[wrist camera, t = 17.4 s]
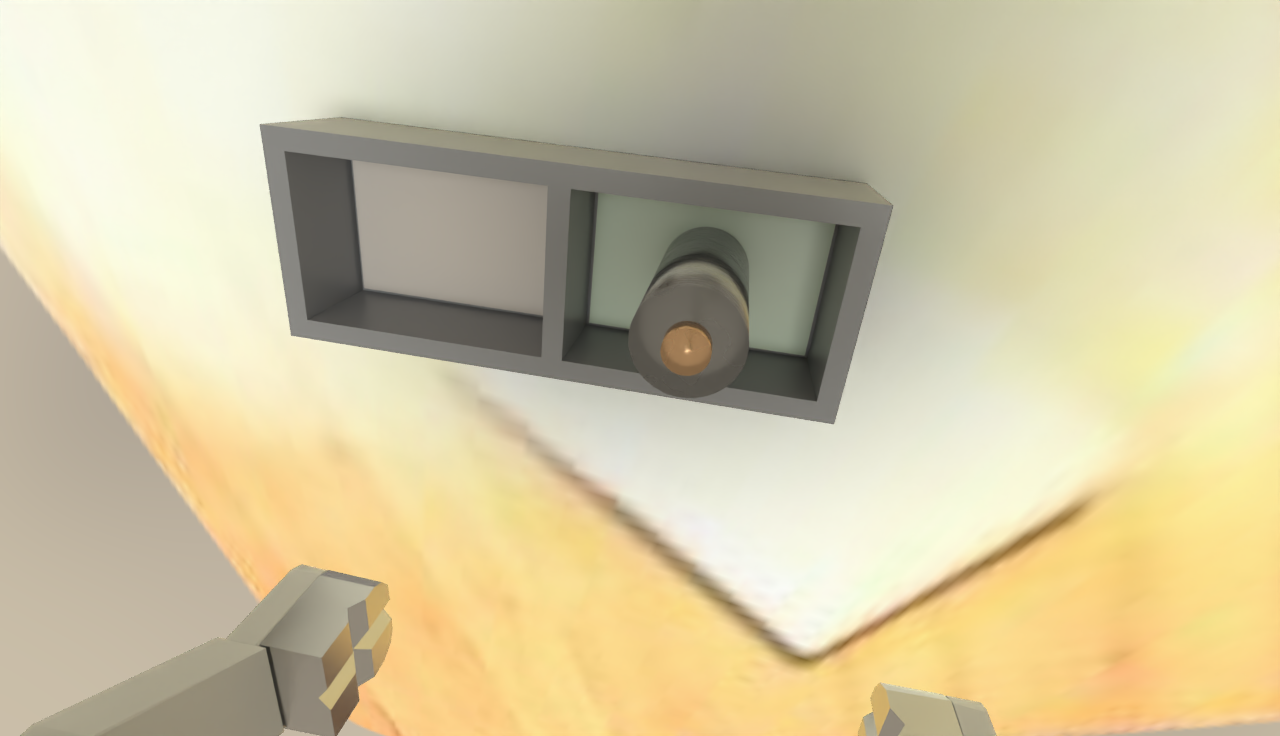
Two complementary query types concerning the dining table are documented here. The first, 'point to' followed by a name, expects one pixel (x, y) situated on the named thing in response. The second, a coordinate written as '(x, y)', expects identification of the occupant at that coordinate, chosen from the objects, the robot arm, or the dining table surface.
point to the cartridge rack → (560, 254)
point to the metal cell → (694, 316)
